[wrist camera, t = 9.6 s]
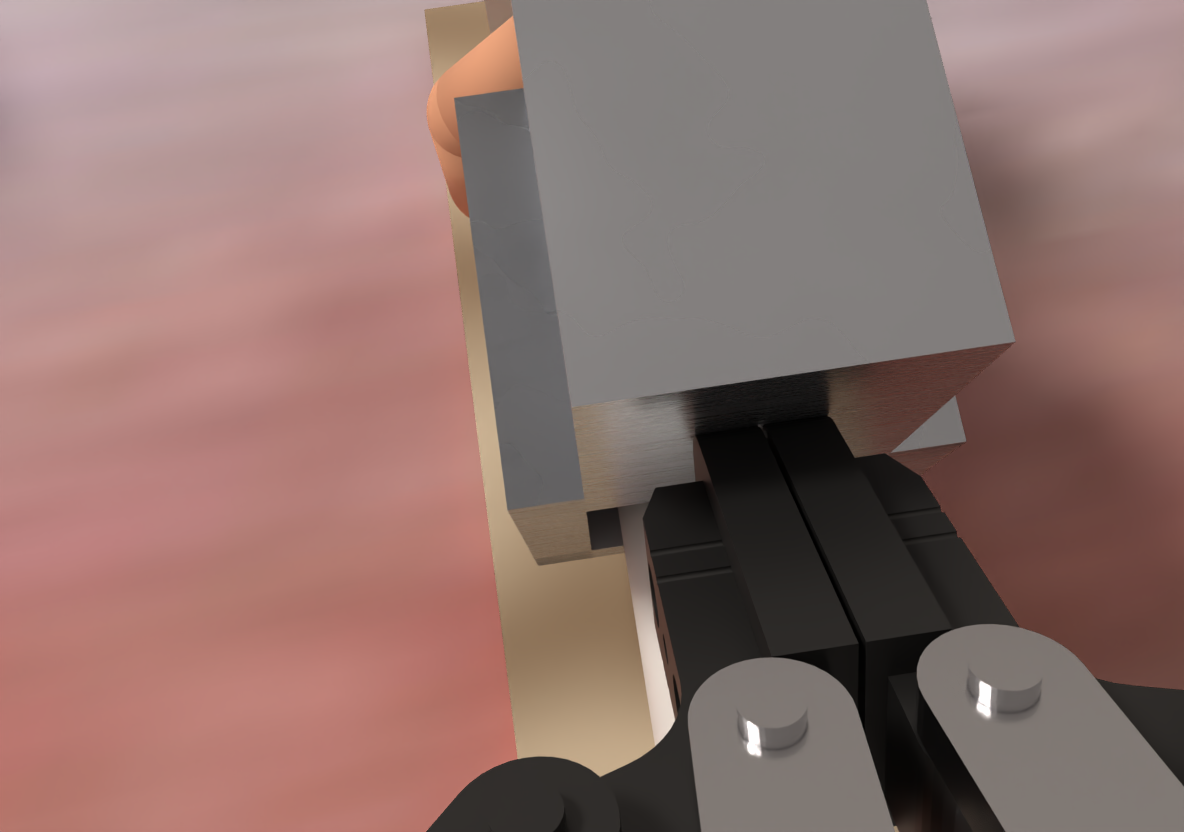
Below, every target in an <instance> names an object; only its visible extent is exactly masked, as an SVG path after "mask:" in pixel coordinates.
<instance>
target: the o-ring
mask: <svg viewBox="0 0 1184 832" xmlns="http://www.w3.org/2000/svg"><path fill="white" fill-rule="evenodd" d="M520 88H523V81H522V74H521V68H520V61H519V54H518V47H517V40H516V33H515V26H514V20H513V16H512V17H511V18H509V19H508V20H507V21H506V22H505V23H503V24H502V25H501V26H500V27H499V28H497V29H496V30H495V31H494V32H493V33H491V34H490V35H489V36H488V37H487V38H485V39H484V40H483V41H482V42H481V43H479V44H478V45H477V46H476V47H475V48H473V49H472V50H471V51H470V52H469V53H467V54H466V55H465V56H464V57H463V58H461V59H460V60H459V61H458V62H457V63H455V64H454V65H453V66H452V67H451V68H449V69H448V70H447V71H446V72H445V73H444V74H443V75H442V76H441V77H440V78H439V79H438V80H437V81H436V83H435V84H434V86H433V88H432V90H431V93H430V95H429V99H428V104H427V121H428V126H429V130H430V133H431V136H432V139H433V142H434V145H435V148H436V151H437V155H438V158H439V161H440V164H441V167H442V170H443V173H444V176H445V179H446V183H447V186H448V189H449V192H450V195H451V197H452V199H453V201H454V203H455V205H456V206H457V207H458V209H459V210H460V211H461V212H462V213H463V214H464V215H465V216H467V217H468V218H469V210H468V203H467V195H466V187H465V179H464V172H463V164H462V156H461V149H460V141H459V133H458V125H457V118H456V110H455V102H454V98H457V97H464V96H471V95H478V94H485V93H492V92H499V91H506V90H513V89H520Z"/></svg>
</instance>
